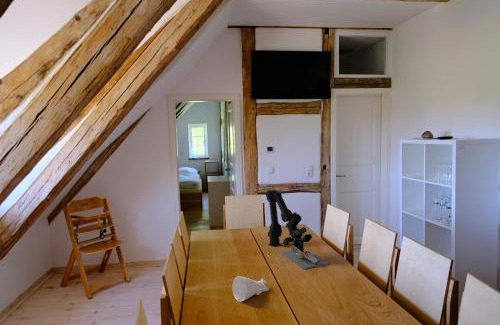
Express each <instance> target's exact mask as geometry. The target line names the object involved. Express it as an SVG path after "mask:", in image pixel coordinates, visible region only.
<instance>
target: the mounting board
mask: <svg viewBox="0 0 500 325" xmlns="http://www.w3.org/2000/svg"><path fill="white" fill-rule="evenodd" d="M303 248H304V249H306V248H305V247H303ZM280 253H281V255H282V256H284V257H285V258H287V259H288V260H290V261H291V262H292V263H294V264H296V265H297V266H298V267H300V268H301V269H303V270H308V269H312V268H318V267H319V268H320V267H324V266H326V265H327V266H329V265H330V262H329V261H327V260H326V259H324V258H323V257H320V256H319V255H318V254H315V253H313V252H312V251H310V255H312V256H313V257H315V258H317V259H318V261H319V262H318V264H316V265H315V264H313V263H312V262H310V261H308V260H307V259H301V258H299V257H296V254H297V253H296V252H294V251H293V250H286V251H281V252H280Z"/></svg>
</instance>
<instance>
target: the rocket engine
mask: <svg viewBox="0 0 500 325" xmlns="http://www.w3.org/2000/svg"><path fill="white" fill-rule="evenodd" d="M266 284H267V281H266V280H265V279H264V278H261V279H260V280H255V279H251V278H248V277H245V276H242V275H237V276H236V277H235V278H234V279H233V281H232V287H231V289H232V290H231V291H232V294H233V296H234V298H235V300H236V301H238V302H244V301H246V300H248V299H250V298H251V297H253V296H254V295H257V296H258V295H261V294H262V293H264V292H268V291H270V290H269V287H267V286H266Z"/></svg>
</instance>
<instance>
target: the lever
mask: <svg viewBox="0 0 500 325" xmlns="http://www.w3.org/2000/svg"><path fill="white" fill-rule="evenodd" d="M305 254H308V252H307V251H304V252H301V253H297V254H296V257H299V256H301V255H305Z"/></svg>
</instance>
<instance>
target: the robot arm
mask: <svg viewBox="0 0 500 325" xmlns="http://www.w3.org/2000/svg"><path fill="white" fill-rule="evenodd" d="M265 197H266V198H265V199H266V200H267V202H268V203H269V212H270V213H269V214H270V221H271V222H270V226H269V230H268V232H267V233H266V234H267V237H268V238H269V243H268V245H269V246H271V247H278V246H280V245H281V241H280V240H281V239H280V237H282V233H283V228H282V225H281V224H280V223H279V218H278V210H277V209H278V208H279V210H280V218H281V220H282V222H284V223H285V228H287V230H288V232H289V234H288V235H289V236H287V237H285V238H284V240H283V242H282V244H283V246H284V247H285V246H289V244H290V243H292V244H291V246H295V247H296V248H298V249H299V250H300V251H301V252H304V248H305V247H304V243H308V242H310V241H311V240H312V239H313V235H312V234H311V233H307V228H306V227H305V226H303V227H301V228H298V225H299V224H300V222H301V221H302V220H303V219H302V216H301V215H300V214H299V213H297V212H293V211H291V210H290V209H289V208H288V206H287V204H286V202H285V200H284V198H283V195H282V192H280V191H277V190H276V189H273V190H272V189H271V190H267V191H266V192H265ZM277 207H278V208H277ZM286 222H287V223H286ZM306 233H307V234H306ZM303 235H304V236H303Z"/></svg>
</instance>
